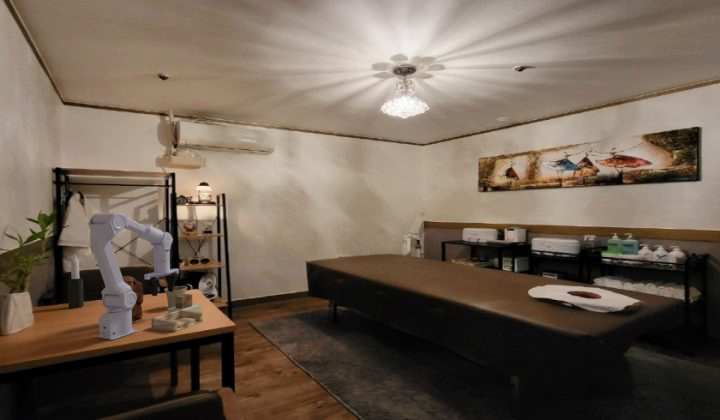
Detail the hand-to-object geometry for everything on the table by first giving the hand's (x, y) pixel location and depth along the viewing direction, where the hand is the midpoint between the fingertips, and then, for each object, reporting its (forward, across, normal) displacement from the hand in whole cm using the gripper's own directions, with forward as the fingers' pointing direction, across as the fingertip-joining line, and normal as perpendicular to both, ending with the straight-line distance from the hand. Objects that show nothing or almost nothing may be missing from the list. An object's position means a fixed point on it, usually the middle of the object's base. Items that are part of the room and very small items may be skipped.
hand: (162, 293), depth 153 cm
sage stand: (+10, +6, -4) cm, 13 cm away
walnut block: (+7, +6, -4) cm, 10 cm away
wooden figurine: (+10, -8, +11) cm, 17 cm away
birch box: (+10, -5, -14) cm, 18 cm away
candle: (+10, -2, +55) cm, 56 cm away
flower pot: (+10, +14, +9) cm, 20 cm away
